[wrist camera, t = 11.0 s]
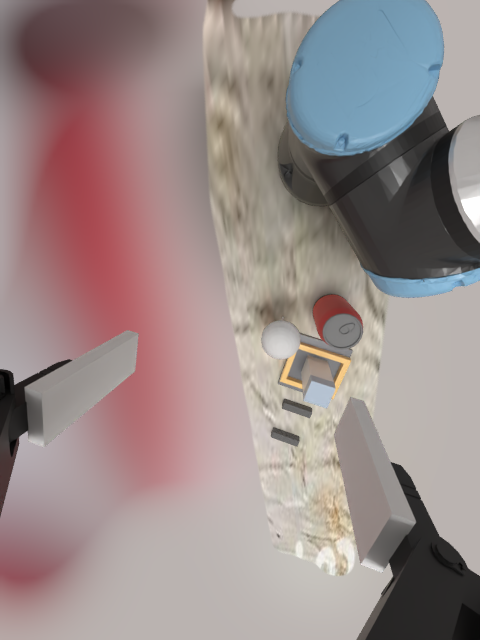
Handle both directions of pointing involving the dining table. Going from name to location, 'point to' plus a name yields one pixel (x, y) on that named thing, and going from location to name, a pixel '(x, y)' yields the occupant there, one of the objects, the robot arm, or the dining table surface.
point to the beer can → (337, 322)
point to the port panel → (316, 349)
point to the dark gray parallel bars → (295, 409)
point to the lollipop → (280, 339)
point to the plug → (317, 382)
